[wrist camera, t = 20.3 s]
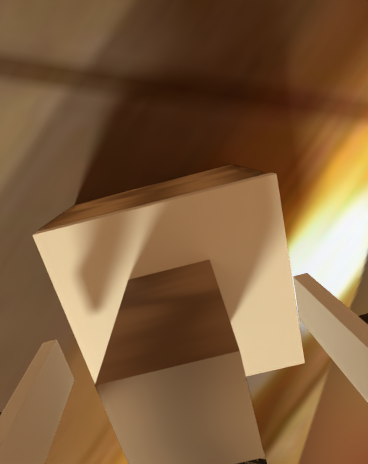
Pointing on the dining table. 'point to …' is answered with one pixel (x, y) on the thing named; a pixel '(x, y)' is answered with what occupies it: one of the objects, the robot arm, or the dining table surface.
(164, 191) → the crate
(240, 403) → the walnut block
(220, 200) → the lid
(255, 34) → the dining table surface
